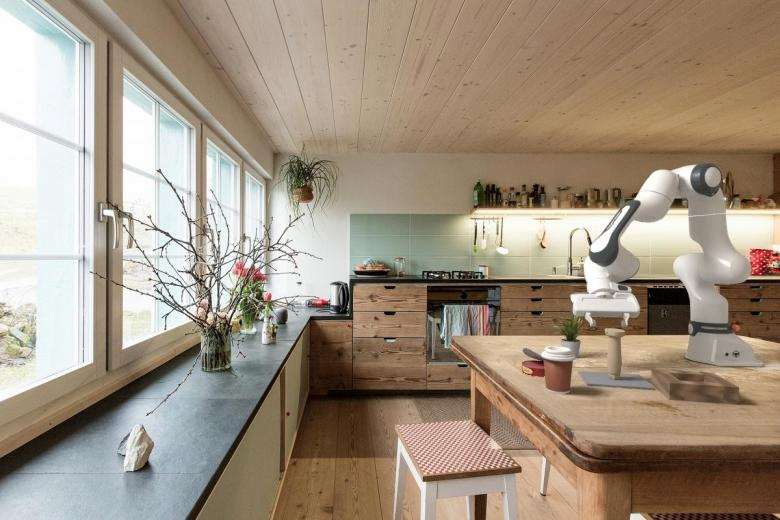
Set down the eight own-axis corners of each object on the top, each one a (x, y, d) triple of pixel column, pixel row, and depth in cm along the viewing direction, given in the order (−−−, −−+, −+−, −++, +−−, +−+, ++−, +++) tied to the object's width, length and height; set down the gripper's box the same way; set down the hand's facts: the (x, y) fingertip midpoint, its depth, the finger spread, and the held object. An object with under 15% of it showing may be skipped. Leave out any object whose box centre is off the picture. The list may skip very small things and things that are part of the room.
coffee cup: (557, 397, 118) (557, 353, 118) (534, 388, 127) (534, 346, 127) (582, 393, 122) (582, 350, 122) (557, 384, 130) (558, 344, 130)
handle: (616, 375, 137) (616, 328, 137) (628, 381, 131) (628, 331, 130) (601, 375, 137) (601, 328, 136) (612, 382, 130) (612, 332, 130)
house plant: (556, 349, 176) (556, 309, 175) (593, 354, 167) (593, 312, 167) (545, 356, 164) (546, 313, 164) (585, 362, 156) (585, 316, 156)
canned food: (522, 383, 146) (518, 354, 151) (553, 382, 144) (548, 352, 149) (524, 376, 137) (519, 345, 141) (557, 374, 135) (552, 343, 139)
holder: (712, 388, 126) (713, 372, 126) (738, 404, 113) (739, 387, 113) (651, 384, 130) (651, 369, 130) (669, 399, 117) (669, 382, 117)
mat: (639, 376, 138) (639, 374, 138) (654, 390, 125) (654, 387, 125) (578, 372, 143) (578, 370, 143) (586, 385, 129) (586, 383, 129)
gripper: (570, 286, 151) (575, 319, 141) (636, 287, 146) (645, 321, 136) (568, 298, 155) (573, 330, 146) (632, 299, 150) (641, 332, 141)
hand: (609, 325), depth 141 cm, fingers open, 8 cm apart
